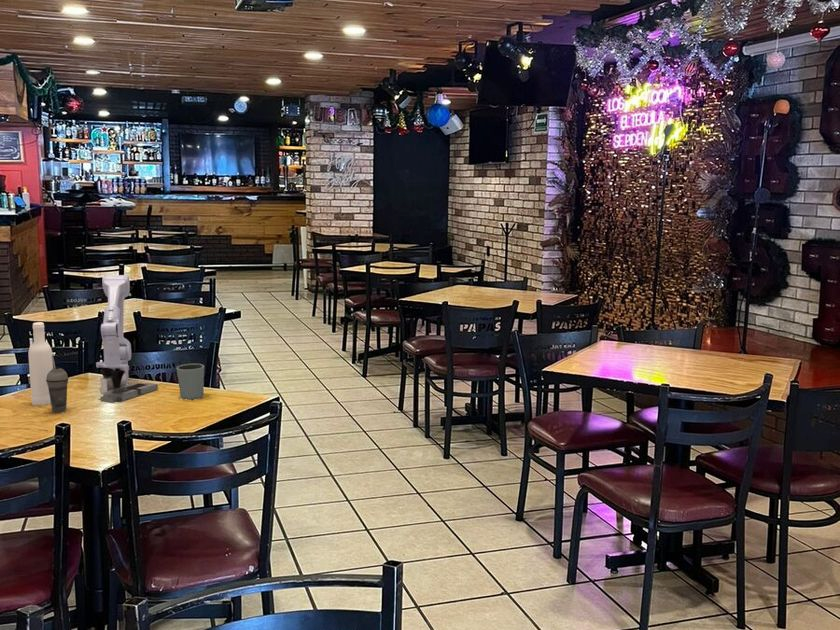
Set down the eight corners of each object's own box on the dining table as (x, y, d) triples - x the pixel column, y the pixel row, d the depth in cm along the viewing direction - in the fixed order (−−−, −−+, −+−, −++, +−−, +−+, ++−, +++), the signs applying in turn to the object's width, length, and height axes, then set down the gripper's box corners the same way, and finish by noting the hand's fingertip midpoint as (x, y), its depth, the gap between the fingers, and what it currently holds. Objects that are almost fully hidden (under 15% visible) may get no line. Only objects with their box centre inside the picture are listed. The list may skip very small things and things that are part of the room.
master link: (101, 393, 306) (100, 378, 305) (119, 387, 315) (119, 372, 314) (107, 394, 305) (106, 379, 304) (126, 388, 314) (125, 373, 313)
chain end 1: (97, 400, 296) (97, 394, 296) (119, 393, 306) (118, 387, 306) (116, 403, 293) (116, 397, 293) (137, 396, 303) (137, 390, 303)
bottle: (26, 404, 292) (21, 323, 287) (45, 399, 299) (40, 320, 294) (41, 407, 288) (35, 325, 283) (60, 402, 295) (55, 322, 290)
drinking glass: (210, 396, 306) (209, 365, 304) (190, 401, 298) (189, 370, 296) (192, 392, 311) (191, 362, 309) (171, 397, 303) (170, 367, 301)
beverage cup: (64, 414, 280) (61, 358, 277) (44, 413, 280) (40, 358, 277) (74, 408, 287) (70, 353, 284) (53, 407, 288) (50, 353, 284)
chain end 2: (122, 392, 308) (122, 386, 308) (142, 386, 318) (142, 380, 318) (141, 395, 305) (140, 389, 304) (160, 388, 315) (160, 382, 314)
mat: (97, 400, 298) (97, 399, 298) (137, 387, 317) (137, 386, 317) (120, 403, 294) (120, 402, 294) (159, 390, 313) (159, 389, 313)
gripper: (89, 352, 307) (91, 387, 309) (118, 356, 301) (120, 391, 303) (103, 349, 313) (104, 383, 315) (132, 352, 308) (133, 387, 310)
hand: (113, 387), depth 310 cm, fingers closed on master link, 3 cm apart
